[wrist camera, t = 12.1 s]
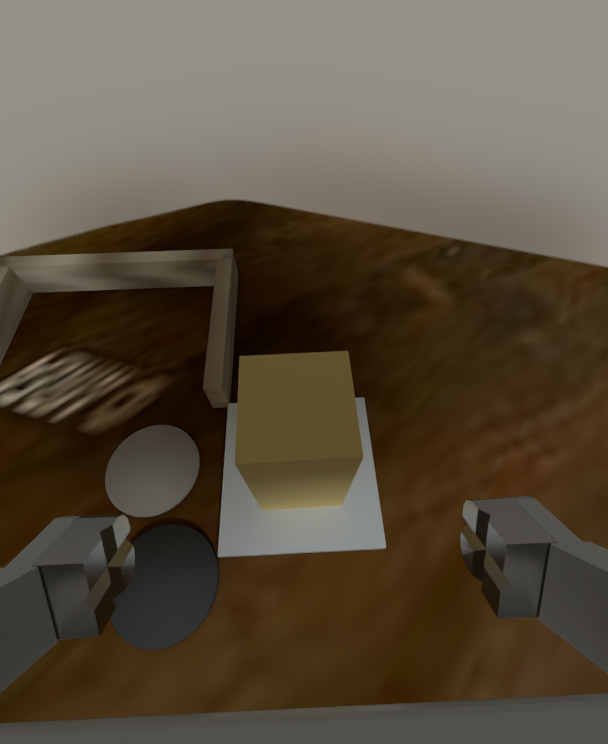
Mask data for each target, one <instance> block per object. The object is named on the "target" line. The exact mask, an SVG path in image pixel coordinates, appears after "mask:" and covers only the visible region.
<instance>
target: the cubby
mask: <svg viewBox="0 0 608 744" xmlns="http://www.w3.org/2000/svg"><path fill="white" fill-rule="evenodd" d="M198 286H214V292H213V301H212V310H211V319H210V328H209V337H208V346H207V355H206V364H205V373H204V382H203V390H204V392H205V393H206V395H207V397H208V399H209V401H210V403H211V405H212V407H213V408H224V407H228V403H230V397H231V382H232V367H233V352H234V336H235V321H236V306H237V291H238V271H237V266H236V262H235V257H234V252H233V249H210V250H182V251H154V252H126V253H98V254H69V255H41V256H13V257H0V365H1V363H2V361H3V358H4V356H5V354H6V352H7V350H8V347H9V345H10V343H11V341H12V339H13V336H14V334H15V332H16V330H17V328H18V325H19V323H20V321H21V319H22V317H23V315H24V312H25V310H26V308H27V306H28V304H29V301H30V299H31V297H32V295H33V293H38V292H65V291H91V290H118V289H145V288H171V287H198Z"/></svg>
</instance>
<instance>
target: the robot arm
mask: <svg viewBox="0 0 608 744" xmlns="http://www.w3.org/2000/svg"><path fill="white" fill-rule="evenodd" d="M463 517H464V518H465V520H466V521H467V523H468V524H467V525H466V526H465V527H464V529H463V530H462V531H461V549H462V555H463V558H464V561H465V563H466V566H467V568H468V569H469V571H470V573H471V574H472V575H473V576H475V577H476V578H477V579H479V580H480V581H482V588H481V591H482V593H483V595H484V596H485V598H486V600H487V601H488V603H489V605H490V606H491V608H492V610H493V611H494V613H495V615H496V616H497V618H522V617H539V618H538V620H540V621H541V622H542V623H544V624H545V625H546V626H547V627H549V628H550V629H551V630H552V631H554V632H555V633H556V634H558V635H559V636H560V637H561V638H563V639H564V640H565V641H566V642H568V643H569V644H570V645H572V646H573V647H574V648H575V649H577V650H578V651H579V652H580V653H582V654H583V655H584V656H586V657H587V658H588V659H589V660H591V661H592V662H593V663H594V664H596V665H597V666H598V667H600V668H601V669H602V670H603V671H605V672H606V673H607V674H608V550H607V549H605V548H603V547H601V546H598V545H596V544H594V543H592V542H582V541H581V540H580V539H579V538H578V537H577V536H575V535H574V534H573V533H572V532H571V531H570V530H569V529H568V528H567V527H566V526H565V525H563V524H562V523H561V522H560V521H559V520H558V519H557V518H556V517H555V516H554V515H552V514H551V513H550V512H549V511H548V510H547V509H546V508H545V507H544V506H543V505H541V504H540V503H539V502H538V501H537V500H536V499H535V498H532V497H530V496H521V497H508V498H500V499H482V500H466V502H465V504H464V506H463ZM129 532H130V525H129V521H128V518H127V517H126V516H124V515H87V516H62V517H59V518H55V519H54V520H53V521H52V522H51V523H50V524H49V525H48V526H47V527H46V528H45V529H44V530H43V531H42V532H41V533H40V534H39V535H38V536H37V537H36V538H35V539H34V540H33V541H32V542H31V543H30V544H29V545H28V546H26V547H25V548H24V549H23V550H22V551H21V552H20V553H19V554H18V555H17V556H16V557H15V558H14V559H13V560H12V561H11V562H10V563H9V564H8V565H7V566H6V567H5V568H0V693H1V692H2V691H3V690H4V689H5V688H7V687H8V686H9V685H10V684H11V683H12V682H13V681H14V680H16V679H17V678H18V677H19V676H20V675H21V674H22V673H23V672H25V671H26V670H27V669H28V668H29V667H30V666H31V665H33V664H34V663H35V662H36V661H37V660H38V659H39V658H40V657H42V656H43V655H44V654H45V653H46V652H47V651H48V650H50V649H51V648H52V647H53V646H54V645H55V644H56V643H57V642H58V640H61V639H74V638H87V637H99V636H100V635H101V633H102V632H103V630H104V628H105V626H106V624H107V623H108V621H109V619H110V617H111V615H112V614H113V612H114V610H115V608H116V606H115V601H114V599H115V598H116V597H117V596H119V595H120V594H121V593H122V592H124V591H125V590H126V588H127V586H128V584H129V582H130V581H131V578H132V574H133V570H134V567H135V552H134V546H133V545H132V544H131V543H130V542H129V541H128V540H127V539H126V537H127V535H128V533H129ZM0 744H608V693H607V694H587V695H566V696H546V697H525V698H505V699H484V700H464V701H443V702H423V703H402V704H382V705H361V706H341V707H321V708H301V709H280V710H260V711H240V712H219V713H199V714H179V715H159V716H138V717H118V718H98V719H78V720H57V721H37V722H17V723H0Z"/></svg>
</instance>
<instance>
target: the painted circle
mask: <svg viewBox="0 0 608 744" xmlns="http://www.w3.org/2000/svg"><path fill="white" fill-rule="evenodd" d="M199 469H200V456H199V451H198V448H197V446H196V444H195V442H194V441H193V440H192V438H191V437H190V436H189V435H188V434H187V433H186V432H184V431H183V430H181V429H179V428H177V427H174V426H169V425H154V426H150V427H146V428H143V429H141V430H139V431H137V432H135V433H133V434H132V435H130V436H129V437H128V438H126V439H125V440H124V441H123V442H122V443H121V444H120V445H119V446H118V448H117V449H116V450H115V452H114V453H113V455H112V456H111V459H110V461H109V463H108V466H107V469H106V474H105V487H106V492H107V494H108V497H109V499H110V500H111V502H112V503H113V504H114V506H115V507H116V508H118V509H119V510H120V511H122V512H124V513H126V514H128V515H131V516H135V517H152V516H157V515H160V514H163V513H165V512H167V511H169V510H171V509H172V508H174V507H175V506H177V505H178V504H179V503H180V502H181V501H182V500H183V499H184V498H185V497H186V496H187V495H188V494H189V492H190V491H191V489H192V488H193V486H194V484H195V482H196V480H197V477H198V473H199Z"/></svg>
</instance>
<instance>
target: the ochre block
mask: <svg viewBox="0 0 608 744" xmlns="http://www.w3.org/2000/svg"><path fill="white" fill-rule="evenodd" d="M362 459H363V450H362V443H361V436H360V429H359V422H358V415H357V408H356V401H355V394H354V387H353V380H352V373H351V366H350V359H349V352H348V351H334V352H314V353H293V354H273V355H253V356H239V379H238V402H237V425H236V448H235V466H236V467H237V469H238V471H239V472H240V474H241V476H242V477H243V479H244V481H245V482H246V484H247V486H248V487H249V489H250V491H251V493H252V494H253V496H254V498H255V499H256V501H257V503H258V504H259V506H260V508H261V509H262V510H279V509H296V508H312V507H329V506H342V504H343V502H344V499H345V497H346V495H347V493H348V491H349V488H350V486H351V484H352V482H353V479H354V477H355V475H356V473H357V471H358V468H359V466H360V464H361V462H362Z"/></svg>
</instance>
